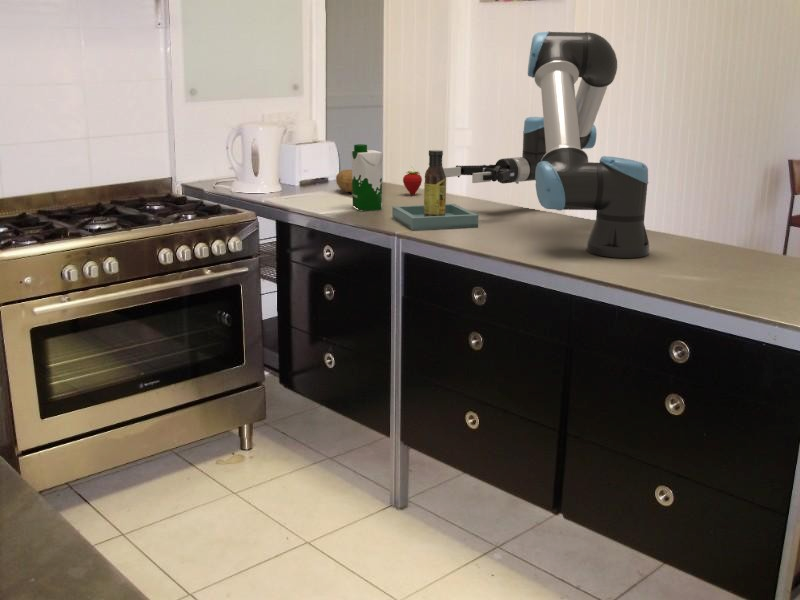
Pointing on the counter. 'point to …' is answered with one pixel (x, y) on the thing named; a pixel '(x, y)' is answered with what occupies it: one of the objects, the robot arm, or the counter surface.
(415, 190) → the strawberry
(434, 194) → the sauce bottle
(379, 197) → the milk carton
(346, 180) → the potato
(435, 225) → the tray
